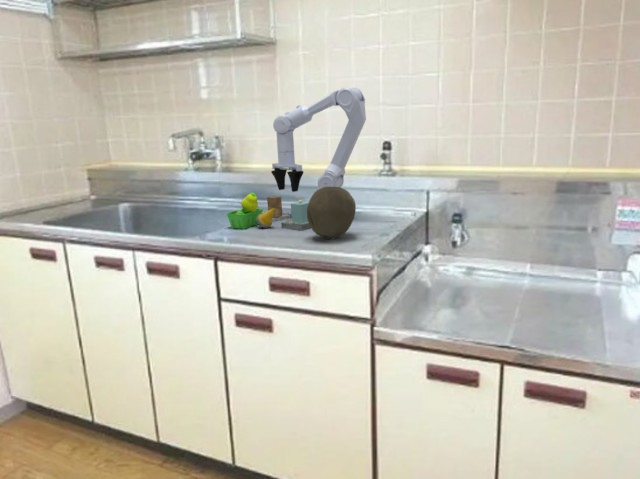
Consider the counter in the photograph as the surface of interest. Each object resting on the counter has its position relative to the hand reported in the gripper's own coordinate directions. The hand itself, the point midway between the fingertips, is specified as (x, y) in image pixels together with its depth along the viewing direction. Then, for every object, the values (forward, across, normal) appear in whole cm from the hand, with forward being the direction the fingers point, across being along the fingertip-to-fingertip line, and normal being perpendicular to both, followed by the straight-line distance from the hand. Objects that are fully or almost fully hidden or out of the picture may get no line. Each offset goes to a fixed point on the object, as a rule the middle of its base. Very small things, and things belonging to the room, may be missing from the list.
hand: (288, 190), depth 189 cm
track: (+10, -1, -6) cm, 11 cm away
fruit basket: (+10, 0, -18) cm, 21 cm away
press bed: (+9, +16, -8) cm, 20 cm away
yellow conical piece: (+10, +8, -15) cm, 20 cm away
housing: (+8, +16, -8) cm, 19 cm away
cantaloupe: (+10, +36, -12) cm, 39 cm away
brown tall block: (+8, -1, -5) cm, 10 cm away
